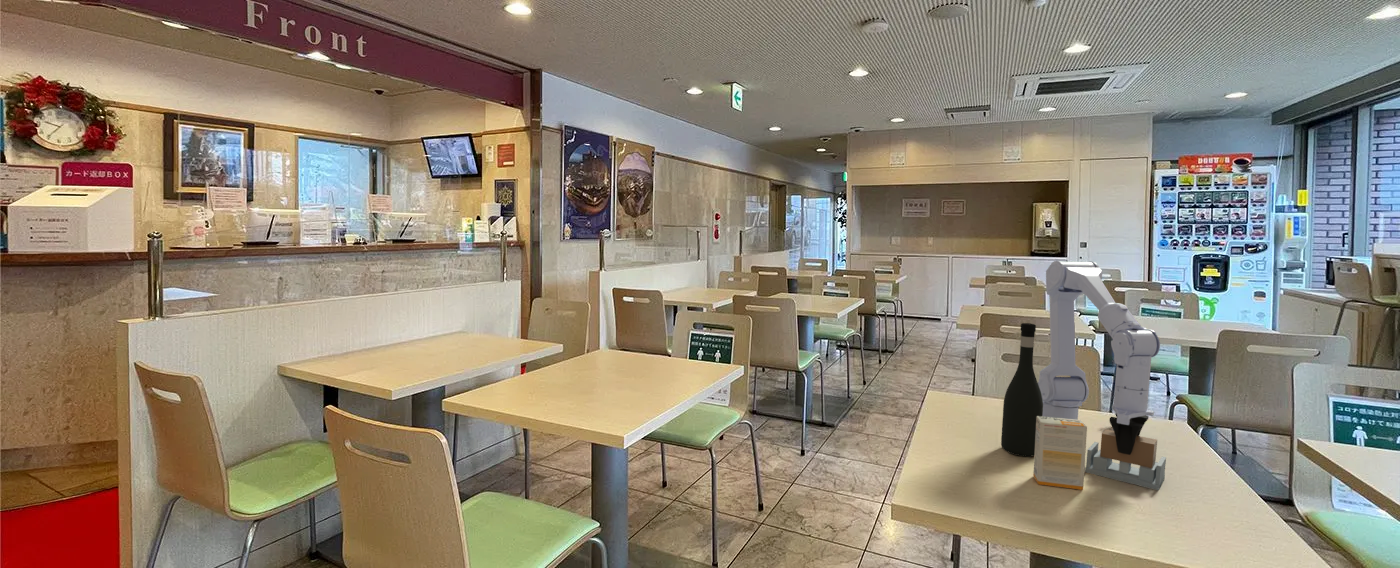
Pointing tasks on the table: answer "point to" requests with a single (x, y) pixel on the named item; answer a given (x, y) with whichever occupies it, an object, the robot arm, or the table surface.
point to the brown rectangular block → (1140, 454)
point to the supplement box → (1060, 452)
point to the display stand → (1125, 470)
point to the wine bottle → (1022, 401)
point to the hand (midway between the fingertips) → (1126, 450)
